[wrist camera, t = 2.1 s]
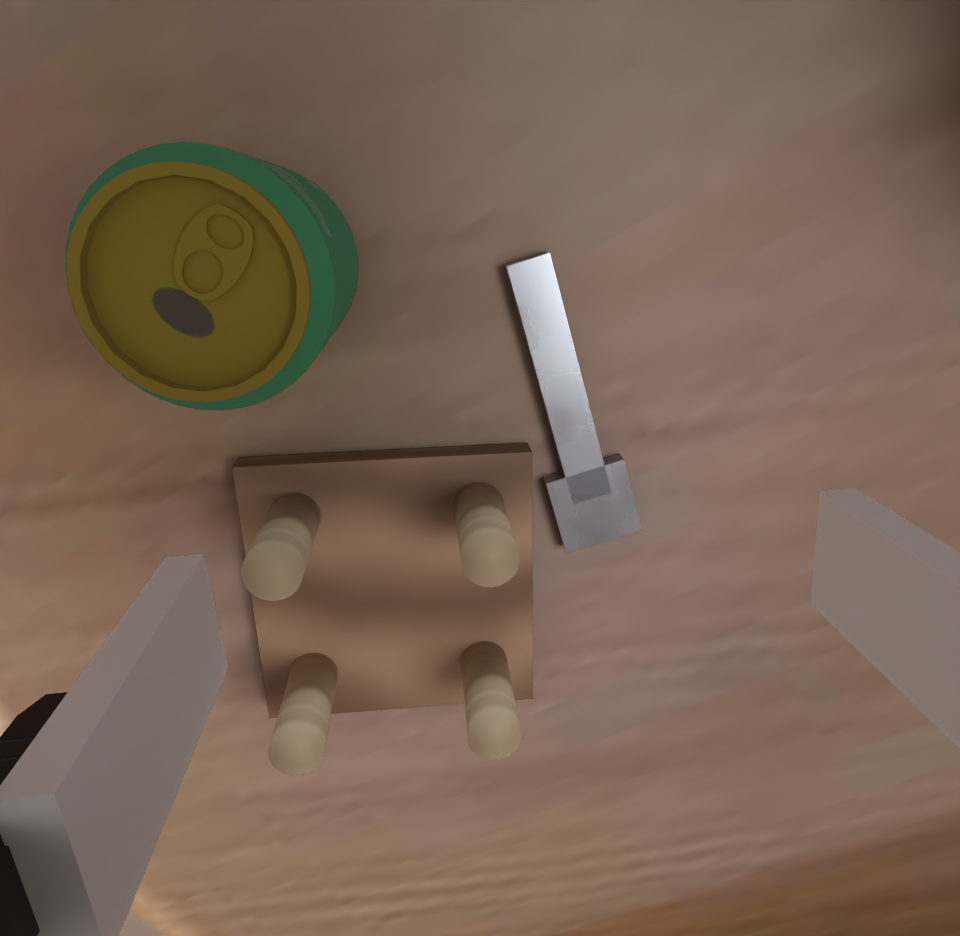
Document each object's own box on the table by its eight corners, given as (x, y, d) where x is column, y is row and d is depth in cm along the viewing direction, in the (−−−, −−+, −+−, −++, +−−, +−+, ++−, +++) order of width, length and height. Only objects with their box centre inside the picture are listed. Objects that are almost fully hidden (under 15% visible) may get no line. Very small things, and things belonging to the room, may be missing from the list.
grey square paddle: (483, 271, 34) (485, 273, 32) (566, 244, 33) (571, 245, 32) (561, 543, 38) (566, 553, 37) (634, 521, 38) (641, 530, 37)
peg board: (239, 457, 35) (195, 518, 28) (527, 442, 36) (553, 498, 29) (274, 700, 40) (243, 804, 33) (529, 681, 41) (552, 779, 34)
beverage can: (143, 285, 32) (-4, 324, 21) (232, 124, 31) (124, 72, 19) (301, 384, 34) (245, 468, 23) (394, 238, 33) (381, 252, 21)
